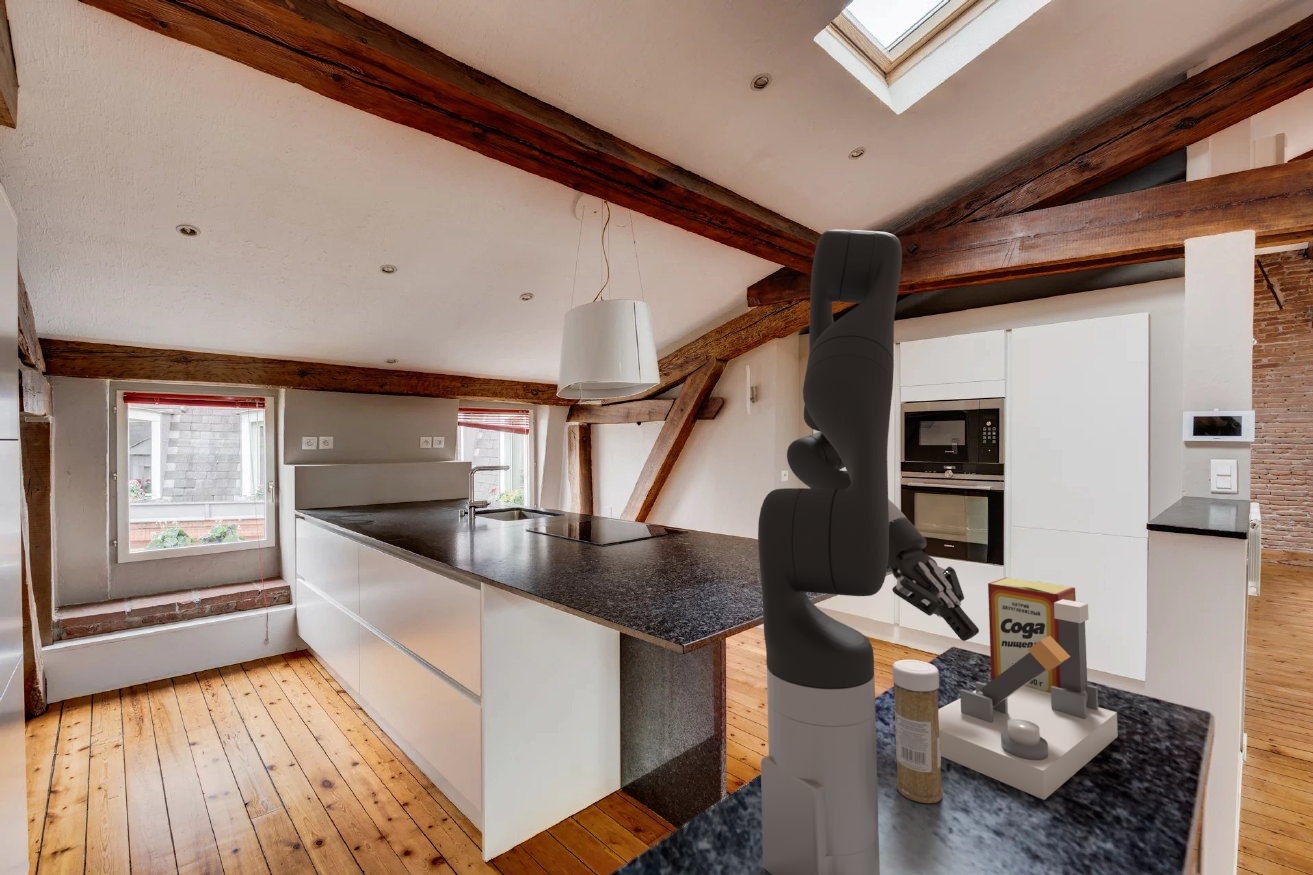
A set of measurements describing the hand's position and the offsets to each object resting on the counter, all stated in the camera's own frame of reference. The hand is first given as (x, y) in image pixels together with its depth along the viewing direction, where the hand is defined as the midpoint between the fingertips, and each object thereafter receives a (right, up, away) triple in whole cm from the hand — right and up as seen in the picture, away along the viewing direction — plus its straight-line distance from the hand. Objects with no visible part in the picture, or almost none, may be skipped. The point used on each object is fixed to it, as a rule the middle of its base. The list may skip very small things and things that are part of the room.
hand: (971, 636), depth 74 cm
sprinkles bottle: (-13, -12, -13) cm, 22 cm away
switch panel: (+4, -12, -3) cm, 13 cm away
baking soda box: (+16, -13, +13) cm, 24 cm away
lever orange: (0, -8, -1) cm, 9 cm away
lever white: (+13, -9, -1) cm, 15 cm away
